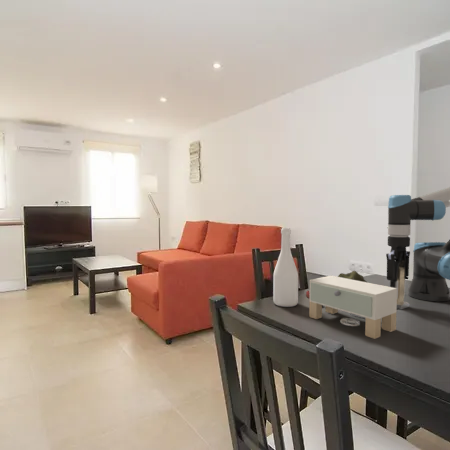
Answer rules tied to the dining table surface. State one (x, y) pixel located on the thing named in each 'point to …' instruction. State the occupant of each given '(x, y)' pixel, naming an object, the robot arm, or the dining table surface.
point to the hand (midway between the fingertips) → (397, 296)
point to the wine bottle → (285, 275)
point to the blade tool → (400, 300)
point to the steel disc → (350, 322)
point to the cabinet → (355, 301)
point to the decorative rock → (352, 276)
